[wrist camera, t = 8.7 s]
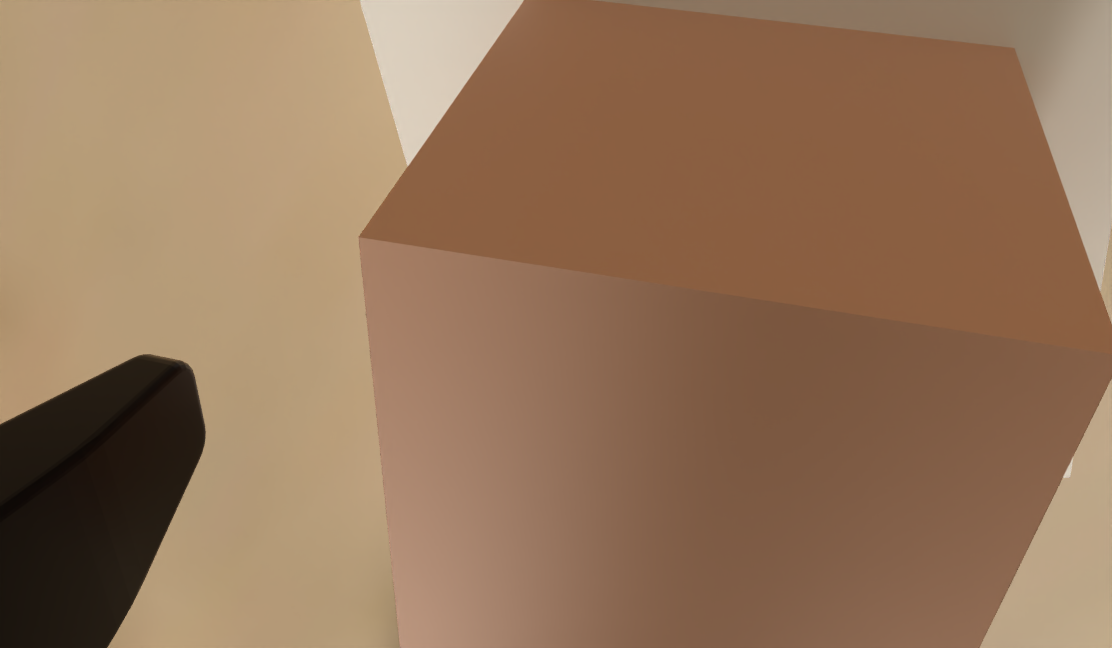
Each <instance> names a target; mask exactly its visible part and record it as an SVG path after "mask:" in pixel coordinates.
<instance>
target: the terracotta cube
mask: <svg viewBox="0 0 1112 648" xmlns="http://www.w3.org/2000/svg"><path fill="white" fill-rule="evenodd" d="M358 238H359V248H360V257H361V267H362V277H363V287H364V297H365V307H366V317H367V327H368V336H369V346H370V356H371V366H372V376H373V386H374V396H375V406H376V415H377V425H378V435H379V445H380V455H381V465H382V475H383V485H384V494H385V504H386V514H387V524H388V534H389V544H390V554H391V564H392V574H393V583H394V593H395V603H396V613H397V623H398V633H399V643H400V648H979V647H980V645H981V643H982V641H983V639H984V637H985V635H986V633H987V631H988V629H989V627H990V625H991V623H992V621H993V619H994V617H995V615H996V613H997V611H998V609H999V607H1000V605H1001V603H1002V600H1003V598H1004V596H1005V594H1006V592H1007V590H1008V588H1009V586H1010V584H1011V582H1012V580H1013V578H1014V576H1015V574H1016V572H1017V570H1018V568H1019V566H1020V564H1021V562H1022V560H1023V558H1024V556H1025V554H1026V552H1027V550H1028V548H1029V545H1030V543H1031V541H1032V539H1033V537H1034V535H1035V533H1036V531H1037V529H1038V527H1039V525H1040V523H1041V521H1042V519H1043V517H1044V515H1045V513H1046V511H1047V509H1048V507H1049V505H1050V503H1051V501H1052V499H1053V497H1054V495H1055V493H1056V490H1057V488H1058V486H1059V484H1060V482H1061V480H1062V478H1063V476H1064V474H1065V472H1066V470H1067V468H1068V466H1069V464H1070V462H1071V460H1072V458H1073V456H1074V454H1075V452H1076V450H1077V448H1078V446H1079V444H1080V442H1081V440H1082V438H1083V436H1084V433H1085V431H1086V429H1087V427H1088V425H1089V423H1090V421H1091V419H1092V417H1093V415H1094V413H1095V411H1096V409H1097V407H1098V405H1099V403H1100V401H1101V399H1102V397H1103V395H1104V393H1105V391H1106V389H1107V387H1108V385H1109V383H1110V381H1111V378H1112V324H1111V321H1110V318H1109V316H1108V313H1107V310H1106V307H1105V304H1104V301H1103V299H1102V296H1101V293H1100V290H1099V287H1098V284H1097V282H1096V279H1095V276H1094V273H1093V270H1092V267H1091V264H1090V262H1089V259H1088V256H1087V253H1086V250H1085V247H1084V245H1083V242H1082V239H1081V236H1080V233H1079V230H1078V228H1077V225H1076V222H1075V219H1074V216H1073V213H1072V210H1071V208H1070V205H1069V202H1068V199H1067V196H1066V193H1065V191H1064V188H1063V185H1062V182H1061V179H1060V176H1059V173H1058V171H1057V168H1056V165H1055V162H1054V159H1053V156H1052V154H1051V151H1050V148H1049V145H1048V142H1047V139H1046V137H1045V134H1044V131H1043V128H1042V125H1041V122H1040V119H1039V117H1038V114H1037V111H1036V108H1035V105H1034V102H1033V100H1032V97H1031V94H1030V91H1029V88H1028V85H1027V83H1026V80H1025V77H1024V74H1023V71H1022V68H1021V65H1020V63H1019V60H1018V57H1017V54H1016V51H1015V48H1010V47H1001V46H992V45H984V44H975V43H966V42H957V41H948V40H939V39H931V38H922V37H913V36H904V35H895V34H886V33H878V32H869V31H860V30H851V29H842V28H833V27H825V26H816V25H807V24H798V23H789V22H780V21H772V20H763V19H754V18H745V17H736V16H728V15H719V14H710V13H701V12H692V11H683V10H675V9H666V8H657V7H648V6H639V5H630V4H622V3H613V2H604V1H595V0H524V1H523V2H522V4H521V5H520V7H519V8H518V10H517V11H516V12H515V14H514V15H513V17H512V18H511V20H510V21H509V22H508V24H507V25H506V27H505V28H504V30H503V31H502V33H501V34H500V35H499V37H498V38H497V40H496V41H495V43H494V44H493V45H492V47H491V48H490V50H489V51H488V53H487V54H486V55H485V57H484V58H483V60H482V61H481V63H480V64H479V65H478V67H477V68H476V70H475V71H474V73H473V74H472V75H471V77H470V78H469V80H468V81H467V83H466V84H465V85H464V87H463V88H462V90H461V91H460V93H459V94H458V95H457V97H456V98H455V100H454V101H453V103H452V104H451V106H450V107H449V108H448V110H447V111H446V113H445V114H444V116H443V117H442V118H441V120H440V121H439V123H438V124H437V126H436V127H435V128H434V130H433V131H432V133H431V134H430V136H429V137H428V138H427V140H426V141H425V143H424V144H423V146H422V147H421V148H420V150H419V151H418V153H417V154H416V156H415V157H414V158H413V160H412V161H411V163H410V164H409V166H408V167H407V168H406V170H405V171H404V173H403V174H402V176H401V177H400V178H399V180H398V181H397V183H396V184H395V186H394V187H393V189H392V190H391V191H390V193H389V194H388V196H387V197H386V199H385V200H384V201H383V203H382V204H381V206H380V207H379V209H378V210H377V211H376V213H375V214H374V216H373V217H372V219H371V220H370V221H369V223H368V224H367V226H366V227H365V229H364V230H363V231H362V233H361V234H360V236H359V237H358Z"/></svg>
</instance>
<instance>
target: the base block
mask: <svg viewBox="0 0 1112 648" xmlns="http://www.w3.org/2000/svg"><path fill="white" fill-rule="evenodd" d="M523 1H524V0H360V3H361V6H362V10H363V13H364V17H365V20H366V24H367V27H368V31H369V34H370V38H371V41H372V45H373V48H374V52H375V55H376V59H377V62H378V66H379V69H380V72H381V76H382V79H383V83H384V86H385V90H386V93H387V97H388V100H389V104H390V107H391V111H392V114H393V118H394V121H395V125H396V128H397V132H398V135H399V138H400V142H401V145H402V149H403V152H404V156H405V159H406V163H407V166H409V164H410V163H411V161H412V160H413V158H414V157H415V156H416V154H417V153H418V151H419V150H420V148H421V147H422V146H423V144H424V143H425V141H426V140H427V138H428V137H429V136H430V134H431V133H432V131H433V130H434V128H435V127H436V126H437V124H438V123H439V121H440V120H441V118H442V117H443V116H444V114H445V113H446V111H447V110H448V108H449V107H450V106H451V104H452V103H453V101H454V100H455V98H456V97H457V95H458V94H459V93H460V91H461V90H462V88H463V87H464V85H465V84H466V83H467V81H468V80H469V78H470V77H471V75H472V74H473V73H474V71H475V70H476V68H477V67H478V65H479V64H480V63H481V61H482V60H483V58H484V57H485V55H486V54H487V53H488V51H489V50H490V48H491V47H492V45H493V44H494V43H495V41H496V40H497V38H498V37H499V35H500V34H501V33H502V31H503V30H504V28H505V27H506V25H507V24H508V22H509V21H510V20H511V18H512V17H513V15H514V14H515V12H516V11H517V10H518V8H519V7H520V5H521V4H522V2H523ZM595 1H604V2H613V3H622V4H630V5H639V6H648V7H657V8H666V9H675V10H683V11H692V12H701V13H710V14H719V15H728V16H736V17H745V18H754V19H763V20H772V21H780V22H789V23H798V24H807V25H816V26H825V27H833V28H842V29H851V30H860V31H869V32H878V33H886V34H895V35H904V36H913V37H922V38H931V39H939V40H948V41H957V42H966V43H975V44H984V45H992V46H1001V47H1010V48H1015V51H1016V54H1017V57H1018V60H1019V63H1020V65H1021V68H1022V71H1023V74H1024V77H1025V80H1026V83H1027V85H1028V88H1029V91H1030V94H1031V97H1032V100H1033V102H1034V105H1035V108H1036V111H1037V114H1038V117H1039V119H1040V122H1041V125H1042V128H1043V131H1044V134H1045V137H1046V139H1047V142H1048V145H1049V148H1050V151H1051V154H1052V156H1053V159H1054V162H1055V165H1056V168H1057V171H1058V173H1059V176H1060V179H1061V182H1062V185H1063V188H1064V191H1065V193H1066V196H1067V199H1068V202H1069V205H1070V208H1071V210H1072V213H1073V216H1074V219H1075V222H1076V225H1077V228H1078V230H1079V233H1080V236H1081V239H1082V242H1083V245H1084V247H1085V250H1086V253H1087V256H1088V259H1089V262H1090V264H1091V267H1092V270H1093V273H1094V276H1095V279H1096V282H1097V284H1098V287H1099V290H1100V292H1101V286H1102V280H1103V274H1104V267H1105V261H1106V255H1107V249H1108V243H1109V237H1110V231H1111V225H1112V0H595ZM1072 462H1073V458H1072V460H1071V462H1070V464H1069V466H1068V468H1067V470H1066V472H1065V474H1064V476H1063V478H1070V474H1071V468H1072Z"/></svg>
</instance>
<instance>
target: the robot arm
mask: <svg viewBox="0 0 1112 648" xmlns="http://www.w3.org/2000/svg"><path fill="white" fill-rule="evenodd" d="M205 433H206V431H205V423H204V419H203V414H202V409H201V404H200V400H199V395H198V390H197V385H196V380H195V376H194V373H193V370H192V369H191V367H190V366H189V365H188V364H187V363H185V362H183V361H180V360H175V359H170V358H165V357H160V356H155V355H151V354H143V355H139V356H137V357H134V358H132V359H130V360H128V361H126V362H124V363H122V364H120V365H118V366H116V367H114V368H112V369H110V370H108V371H106V372H104V373H102V374H100V375H98V376H96V377H94V378H92V379H90V380H88V381H86V382H84V383H82V384H80V385H78V386H76V387H74V388H72V389H70V390H68V391H66V392H64V393H62V394H60V395H58V396H56V397H54V398H52V399H50V400H48V401H46V402H44V403H42V404H40V405H38V406H36V407H34V408H32V409H30V410H28V411H26V412H24V413H22V414H20V415H18V416H16V417H14V418H12V419H10V420H8V421H6V422H4V423H2V424H0V648H107V647H108V646H109V644H110V642H111V641H112V639H113V637H114V636H115V634H116V632H117V631H118V629H119V627H120V625H121V624H122V622H123V620H124V618H125V616H126V615H127V613H128V611H129V609H130V608H131V606H132V604H133V602H134V600H135V598H136V596H137V594H138V592H139V590H140V588H141V586H142V584H143V582H144V580H145V577H146V575H147V573H148V571H149V569H150V567H151V564H152V562H153V560H154V558H155V556H156V553H157V551H158V549H159V547H160V545H161V542H162V540H163V538H164V536H165V534H166V532H167V529H168V527H169V525H170V523H171V521H172V518H173V516H174V514H175V512H176V510H177V507H178V505H179V503H180V501H181V499H182V497H183V494H184V492H185V490H186V488H187V486H188V483H189V481H190V479H191V477H192V475H193V472H194V470H195V468H196V466H197V464H198V462H199V459H200V457H201V454H202V452H203V448H204V444H205Z"/></svg>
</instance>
